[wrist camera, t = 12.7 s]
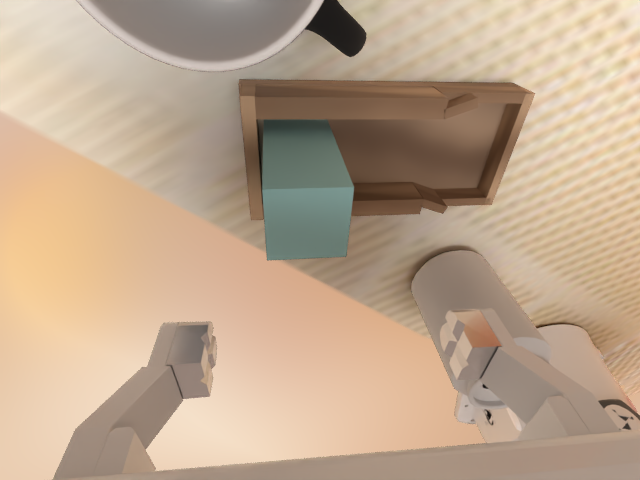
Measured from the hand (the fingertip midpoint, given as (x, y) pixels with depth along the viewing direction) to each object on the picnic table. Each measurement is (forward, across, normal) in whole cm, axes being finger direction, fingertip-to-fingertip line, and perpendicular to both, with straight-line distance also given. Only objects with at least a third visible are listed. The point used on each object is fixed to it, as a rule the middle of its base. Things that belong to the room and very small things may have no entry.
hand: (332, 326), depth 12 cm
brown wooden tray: (+16, -5, 0) cm, 17 cm away
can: (+16, -14, +13) cm, 25 cm away
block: (+15, +1, 0) cm, 15 cm away
